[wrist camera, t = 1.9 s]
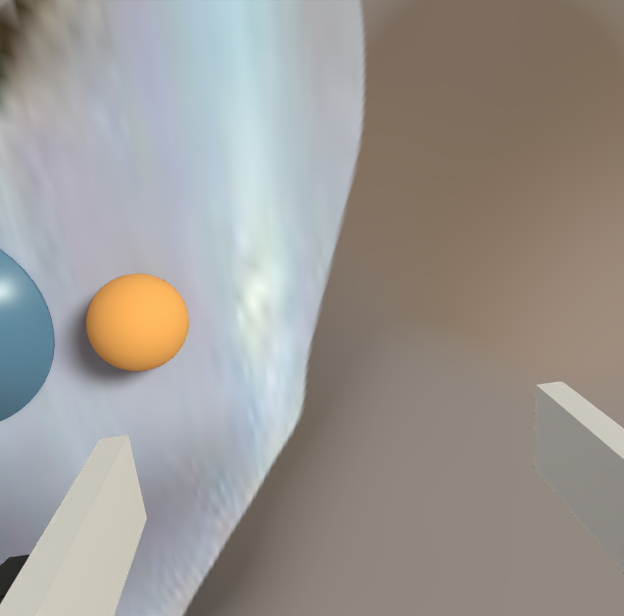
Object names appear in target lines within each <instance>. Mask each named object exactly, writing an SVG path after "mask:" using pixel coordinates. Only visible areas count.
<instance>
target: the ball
mask: <svg viewBox="0 0 624 616" xmlns="http://www.w3.org/2000/svg"><path fill="white" fill-rule="evenodd" d="M188 328H189V317H188V312H187V308H186V305H185V302H184V301H183V299H182V297H181V296H180V294H179V293H178V292H177V291H176V290H175V289H174V288H173V287H172V286H171V285H170V284H169V283H167V282H165V281H164V280H162V279H160V278H158V277H155V276H151V275H147V274H130V275H124V276H121V277H118V278H116V279H114V280H112V281H110V282H109V283H107V284H106V285H104V286H103V287H102V288H101V289H100V290H99V291H98V292H97V293H96V295H95V296H94V298H93V299H92V301H91V303H90V305H89V308H88V311H87V316H86V330H87V335H88V338H89V341H90V343H91V345H92V347H93V348H94V350H95V351H96V352H97V353H98V355H99V356H100V357H101V358H102V359H104V360H105V361H106V362H108V363H109V364H111V365H113V366H115V367H117V368H120V369H124V370H128V371H146V370H150V369H154V368H157V367H159V366H161V365H163V364H165V363H166V362H168V361H169V360H170V359H172V358H173V357H174V356H175V355H176V354H177V353H178V351H179V350H180V348H181V347H182V346H183V344H184V342H185V339H186V336H187V333H188Z"/></svg>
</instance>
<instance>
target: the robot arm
mask: <svg viewBox="0 0 624 616" xmlns="http://www.w3.org/2000/svg"><path fill="white" fill-rule="evenodd" d="M533 468H534V469H535V470H536V471H537V472H538V473H539V475H540V476H541V477H542V478H543V479H544V481H545V482H546V483H547V484H548V485H549V487H550V488H551V489H552V490H553V491H554V492H555V494H556V495H557V496H558V497H559V498H560V499H561V501H562V502H563V503H564V504H565V505H566V506H567V508H568V509H569V510H570V511H571V512H572V514H573V515H574V516H575V517H576V518H577V519H578V521H579V522H580V523H581V524H582V525H583V527H584V528H585V529H586V530H587V531H588V532H589V534H590V535H591V536H592V537H593V538H594V539H595V541H596V542H597V543H598V544H599V545H600V546H601V548H602V549H603V550H604V551H605V552H606V553H607V555H608V556H609V557H610V558H611V559H612V561H613V562H614V563H615V564H616V565H617V566H618V567H619V569H620V570H621V571H622V572H623V574H624V429H623V428H622V427H621V426H619V425H618V424H617V423H616V422H614V421H613V420H612V419H610V418H609V417H608V416H606V415H605V414H604V413H603V412H601V411H600V410H599V409H597V408H596V407H595V406H593V405H592V404H591V403H589V402H588V401H587V400H586V399H584V398H583V397H582V396H580V395H579V394H578V393H576V392H575V391H574V390H573V389H571V388H570V387H569V386H567V385H566V384H565V383H563V382H555V383H546V384H538V385H536V406H535V434H534V464H533ZM146 520H147V517H146V513H145V508H144V504H143V499H142V495H141V490H140V486H139V481H138V477H137V472H136V468H135V464H134V459H133V455H132V450H131V446H130V441H129V437H128V435H127V436H118V437H110V438H102V439H100V440H99V441H98V443H97V445H96V446H95V448H94V450H93V451H92V453H91V455H90V456H89V458H88V460H87V461H86V463H85V465H84V466H83V468H82V470H81V471H80V473H79V475H78V476H77V478H76V480H75V481H74V483H73V484H72V486H71V488H70V489H69V491H68V493H67V494H66V496H65V498H64V499H63V501H62V503H61V504H60V506H59V508H58V509H57V511H56V513H55V514H54V516H53V518H52V519H51V521H50V523H49V524H48V526H47V528H46V529H45V531H44V533H43V534H42V536H41V538H40V539H39V541H38V543H37V544H36V546H35V548H34V549H33V551H32V552H31V554H30V555H23V556H16V557H9V558H8V559H7V560H6V561H5V562H4V563H3V564H2V565H0V616H114V614H115V611H116V608H117V605H118V602H119V599H120V596H121V593H122V590H123V587H124V584H125V582H126V579H127V576H128V573H129V570H130V567H131V564H132V561H133V558H134V555H135V552H136V549H137V546H138V543H139V540H140V537H141V534H142V531H143V529H144V526H145V523H146Z"/></svg>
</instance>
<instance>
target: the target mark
mask: <svg viewBox="0 0 624 616" xmlns="http://www.w3.org/2000/svg"><path fill="white" fill-rule="evenodd" d="M53 354H54V330H53V325H52V319H51V316H50V313H49V310H48V307H47V305H46V303H45V301H44V299H43V296H42V294H41V293H40V291H39V290H38V288H37V286H36V285H35V283H34V282H33V280H32V279H31V278H30V277H29V276H28V274H27V273H26V272H25V271H24V269H22V268H21V267H20V266H19V265H18V264H17V263H16V262H15V261H14V260H13V259H12V258H11V257H9V256H8V255H7V254H6V253H4V252H3V251H2V250H0V421H1V420H3V419H6V418H8V417H10V416H11V415H13V414H14V413H16V412H18V411H19V410H20V409H22V408H23V407H24V406H25V405H26V404H27V403H29V402H30V401H31V399H32V398H33V397H34V396H35V395H36V394H37V393H38V391H39V390H40V388H41V387H42V385H43V384H44V382H45V380H46V378H47V376H48V373H49V371H50V368H51V364H52V360H53Z"/></svg>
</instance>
